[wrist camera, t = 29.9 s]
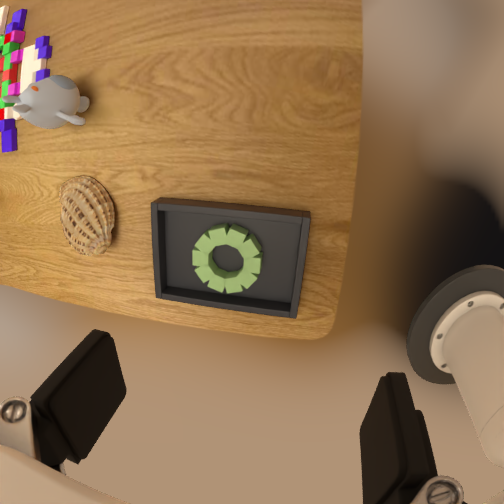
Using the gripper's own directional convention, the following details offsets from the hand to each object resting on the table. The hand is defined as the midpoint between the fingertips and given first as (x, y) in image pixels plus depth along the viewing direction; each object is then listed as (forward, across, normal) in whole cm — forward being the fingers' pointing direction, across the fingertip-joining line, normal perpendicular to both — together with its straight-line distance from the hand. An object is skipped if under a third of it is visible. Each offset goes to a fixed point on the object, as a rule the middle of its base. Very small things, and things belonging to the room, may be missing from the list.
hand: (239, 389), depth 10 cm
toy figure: (+25, +26, -12) cm, 38 cm away
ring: (+25, +6, +6) cm, 26 cm away
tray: (+26, +6, +6) cm, 27 cm away
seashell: (+25, +24, +2) cm, 35 cm away
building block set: (+25, +42, -20) cm, 52 cm away
